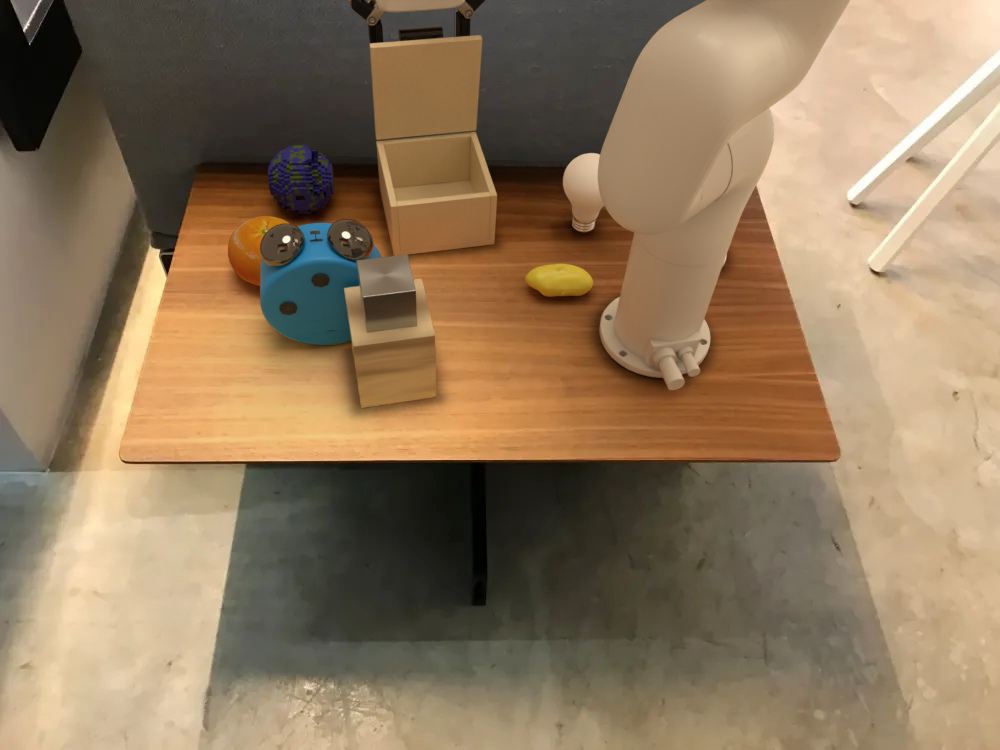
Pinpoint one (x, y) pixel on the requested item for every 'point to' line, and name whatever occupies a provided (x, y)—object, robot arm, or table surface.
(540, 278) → the yellow potato
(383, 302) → the steel block
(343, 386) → the table surface
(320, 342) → the alarm clock
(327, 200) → the ball
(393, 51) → the wooden box lid
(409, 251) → the open storage bin
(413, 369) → the block
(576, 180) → the light bulb
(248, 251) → the fruit
